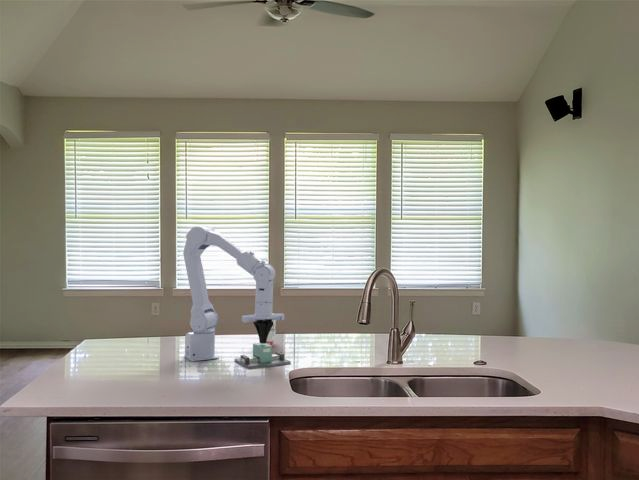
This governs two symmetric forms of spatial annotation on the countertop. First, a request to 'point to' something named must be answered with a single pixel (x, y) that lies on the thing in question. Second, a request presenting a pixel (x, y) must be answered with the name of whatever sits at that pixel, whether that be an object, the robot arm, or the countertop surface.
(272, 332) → the ink box
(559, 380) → the countertop surface
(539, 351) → the countertop surface
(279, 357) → the rail plate
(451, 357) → the countertop surface
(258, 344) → the block
